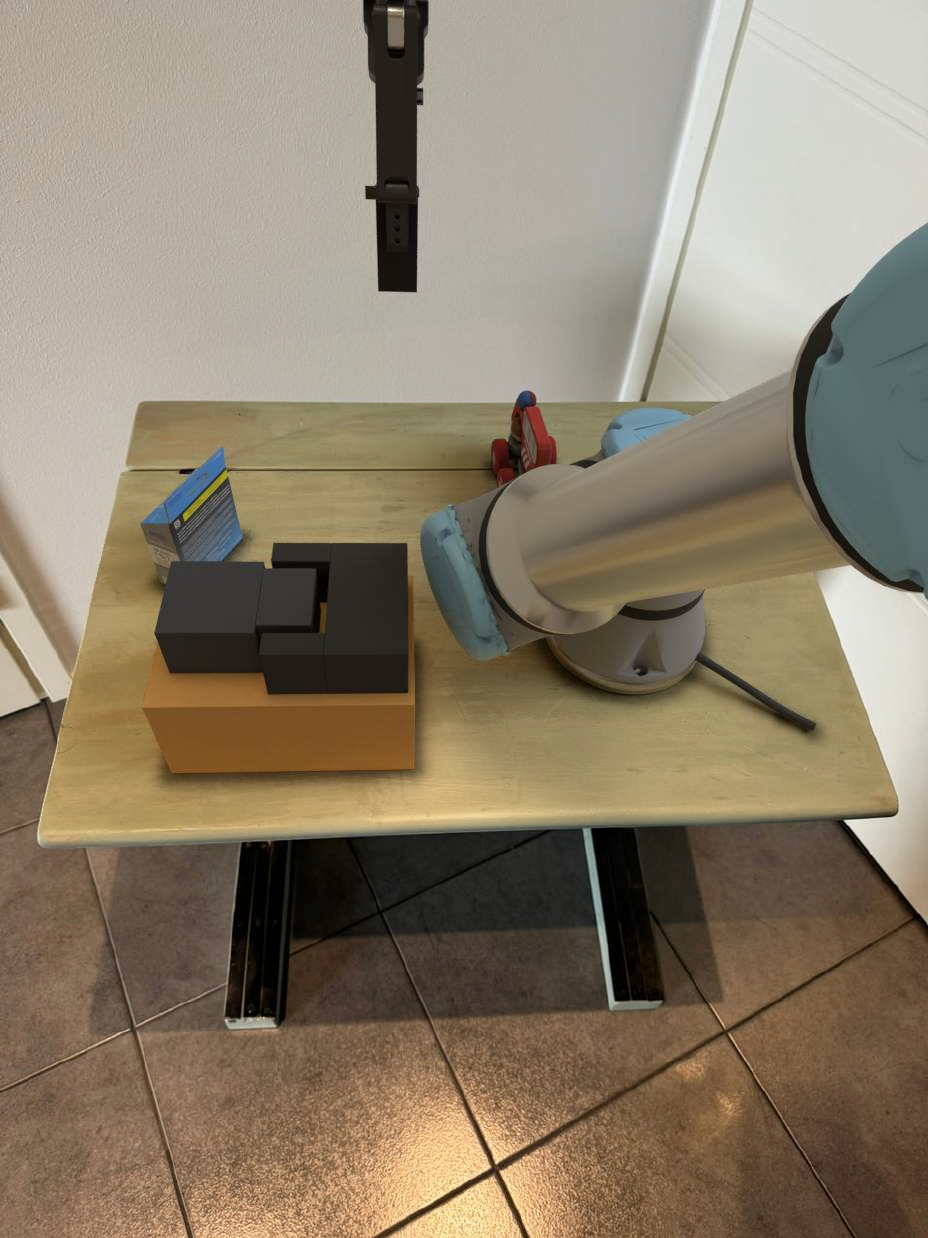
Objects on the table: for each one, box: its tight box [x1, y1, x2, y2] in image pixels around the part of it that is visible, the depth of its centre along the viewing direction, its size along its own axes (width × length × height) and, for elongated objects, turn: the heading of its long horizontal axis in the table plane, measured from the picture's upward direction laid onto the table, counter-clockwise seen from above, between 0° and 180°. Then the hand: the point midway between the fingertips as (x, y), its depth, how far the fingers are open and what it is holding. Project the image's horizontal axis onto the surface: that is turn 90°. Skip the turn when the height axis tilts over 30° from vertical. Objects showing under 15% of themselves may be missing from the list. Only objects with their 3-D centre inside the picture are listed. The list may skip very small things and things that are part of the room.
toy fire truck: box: [490, 390, 558, 489], centre depth 90 cm, size 7×12×10 cm, turn 7°
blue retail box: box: [140, 445, 244, 586], centre depth 79 cm, size 9×4×12 cm, turn 156°
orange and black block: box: [141, 542, 416, 774], centre depth 68 cm, size 20×13×15 cm, turn 93°
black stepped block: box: [153, 560, 321, 673], centre depth 64 cm, size 11×7×5 cm, turn 93°
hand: (397, 241), depth 63 cm, fingers open, 13 cm apart
